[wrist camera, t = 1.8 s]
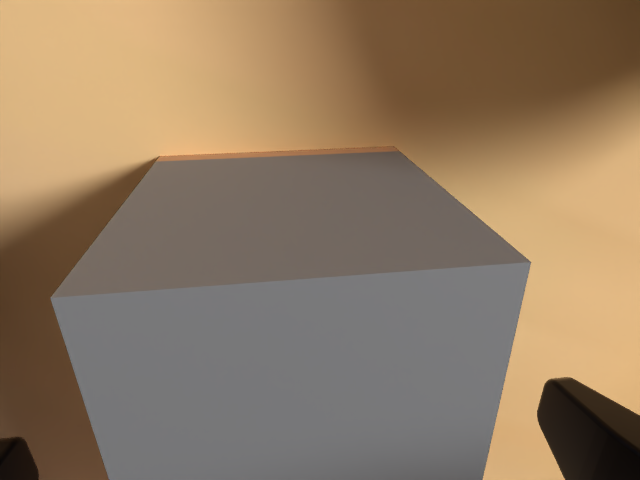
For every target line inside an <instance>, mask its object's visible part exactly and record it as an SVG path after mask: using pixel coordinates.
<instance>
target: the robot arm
mask: <svg viewBox="0 0 640 480" xmlns="http://www.w3.org/2000/svg"><path fill="white" fill-rule="evenodd" d="M537 418H538V422H539V425H540V428H541V430H542V432H543V434H544V436H545V438H546V440H547V442H548V444H549V447H550V449H551V451H552V453H553V455H554V457H555V459H556V461H557V464H558V466H559V468H560V470H561V472H562V474H563V476H564V478H565V480H640V415H638V414H636V413H634V412H632V411H631V410H629V409H627V408H625V407H623V406H622V405H620V404H618V403H616V402H614V401H613V400H611V399H609V398H607V397H605V396H604V395H602V394H600V393H598V392H596V391H595V390H593V389H591V388H589V387H587V386H585V385H584V384H582V383H580V382H578V381H576V380H575V379H572V378H568V377H564V378H555V379H549V380H548V381H547V382H546V383H545V385H544V388H543V392H542V395H541V399H540V403H539V406H538V410H537ZM0 480H39V474H38V469H37V466H36V464H35V461H34V459H33V457H32V454H31V452H30V450H29V447H28V445H27V442H26V441H25V440H24V439H23V438H22V437H10V438H1V439H0Z"/></svg>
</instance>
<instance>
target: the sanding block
mask: <svg viewBox="0 0 640 480" xmlns="http://www.w3.org/2000/svg"><path fill="white" fill-rule="evenodd" d="M530 264H531V262H530V261H529V260H528V259H527V258H526V257H524V256H523V255H522V254H521V253H520V252H518V251H517V250H516V249H515V248H514V247H512V246H511V245H510V244H509V243H508V242H507V241H505V240H504V239H503V238H502V237H501V236H499V235H498V234H497V233H496V232H495V231H493V230H492V229H491V228H490V227H489V226H488V225H486V224H485V223H484V222H483V221H482V220H480V219H479V218H478V217H477V216H476V215H475V214H473V213H472V212H471V211H470V210H469V209H467V208H466V207H465V206H464V205H463V204H461V203H460V202H459V201H458V200H457V199H456V198H454V197H453V196H452V195H451V194H450V193H448V192H447V191H446V190H445V189H444V188H442V187H441V186H440V185H439V184H438V183H437V182H435V181H434V180H433V179H432V178H431V177H429V176H428V175H427V174H426V173H425V172H423V171H422V170H421V169H420V168H419V167H418V166H416V165H415V164H414V163H413V162H412V161H410V160H409V159H408V158H407V157H406V156H405V155H403V154H402V153H401V152H400V151H399V150H397V149H396V148H395V147H394V146H393V147H370V148H346V149H322V150H298V151H274V152H250V153H226V154H202V155H178V156H159V158H158V159H157V160H156V162H155V163H154V164H153V166H152V167H151V168H150V169H149V171H148V172H147V173H146V175H145V176H144V177H143V178H142V180H141V181H140V182H139V184H138V185H137V186H136V188H135V189H134V190H133V191H132V193H131V194H130V195H129V197H128V198H127V199H126V200H125V202H124V203H123V204H122V206H121V207H120V208H119V210H118V211H117V212H116V213H115V215H114V216H113V217H112V219H111V220H110V221H109V222H108V224H107V225H106V226H105V228H104V229H103V230H102V232H101V233H100V234H99V235H98V237H97V238H96V239H95V241H94V242H93V243H92V244H91V246H90V247H89V248H88V250H87V251H86V252H85V254H84V255H83V256H82V257H81V259H80V260H79V261H78V263H77V264H76V265H75V266H74V268H73V269H72V270H71V272H70V273H69V274H68V276H67V277H66V278H65V279H64V281H63V282H62V283H61V285H60V286H59V287H58V288H57V290H56V291H55V292H54V294H53V295H52V296H51V298H50V299H51V302H52V305H53V308H54V311H55V314H56V317H57V320H58V324H59V327H60V330H61V333H62V336H63V339H64V342H65V345H66V348H67V351H68V355H69V358H70V361H71V364H72V367H73V370H74V373H75V376H76V379H77V382H78V385H79V389H80V392H81V395H82V398H83V401H84V404H85V407H86V410H87V413H88V416H89V419H90V423H91V426H92V429H93V432H94V435H95V438H96V441H97V444H98V447H99V450H100V453H101V457H102V460H103V463H104V466H105V469H106V472H107V475H108V478H109V480H482V479H483V475H484V470H485V466H486V461H487V457H488V452H489V448H490V443H491V439H492V434H493V430H494V426H495V421H496V417H497V412H498V408H499V403H500V399H501V394H502V390H503V385H504V381H505V376H506V372H507V367H508V363H509V358H510V354H511V349H512V345H513V340H514V336H515V331H516V327H517V322H518V318H519V314H520V309H521V305H522V300H523V296H524V291H525V287H526V282H527V278H528V273H529V269H530Z"/></svg>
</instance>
